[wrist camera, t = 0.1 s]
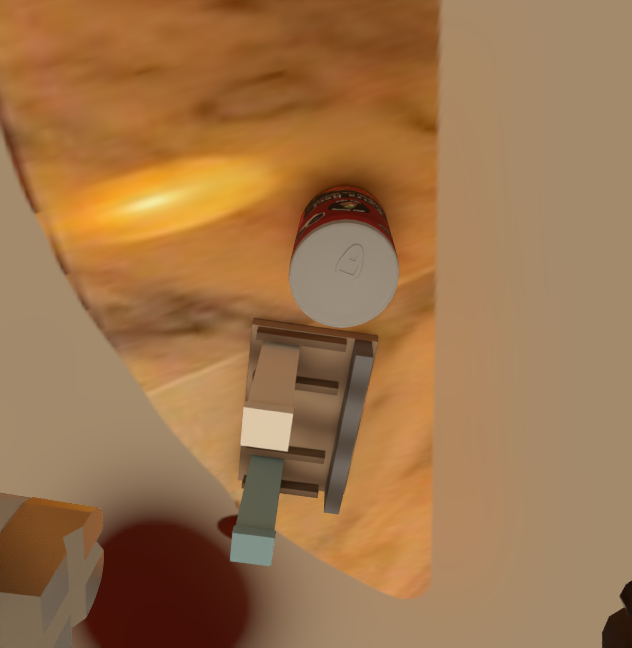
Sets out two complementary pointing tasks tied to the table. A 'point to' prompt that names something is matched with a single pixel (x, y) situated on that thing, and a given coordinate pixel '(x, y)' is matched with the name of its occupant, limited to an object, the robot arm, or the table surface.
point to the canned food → (343, 259)
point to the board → (317, 406)
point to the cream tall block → (271, 398)
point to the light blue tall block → (258, 512)
